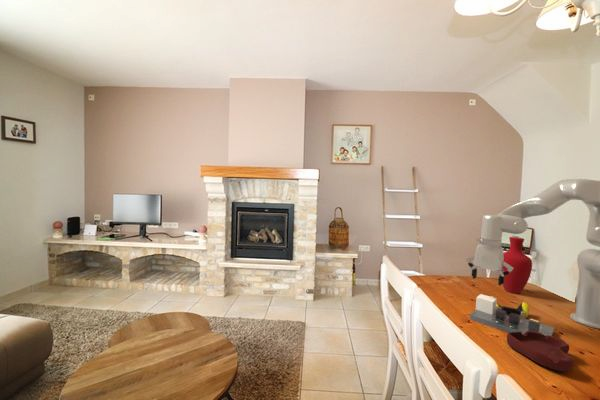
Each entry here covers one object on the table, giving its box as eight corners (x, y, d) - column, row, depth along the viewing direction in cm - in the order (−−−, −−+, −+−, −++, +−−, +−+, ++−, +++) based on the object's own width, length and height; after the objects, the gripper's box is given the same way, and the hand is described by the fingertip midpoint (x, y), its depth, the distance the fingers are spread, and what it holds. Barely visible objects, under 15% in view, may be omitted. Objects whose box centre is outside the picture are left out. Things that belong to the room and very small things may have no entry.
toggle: (539, 329, 105) (540, 320, 105) (538, 332, 103) (539, 323, 103) (529, 326, 107) (530, 317, 107) (528, 328, 105) (528, 320, 105)
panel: (553, 332, 108) (554, 318, 107) (548, 346, 98) (550, 331, 97) (480, 309, 126) (481, 297, 126) (469, 319, 116) (470, 306, 116)
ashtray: (507, 335, 104) (508, 323, 104) (567, 354, 94) (568, 339, 94) (504, 357, 91) (505, 342, 90) (573, 381, 80) (575, 364, 80)
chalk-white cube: (495, 310, 121) (496, 298, 121) (492, 314, 117) (493, 302, 116) (479, 305, 125) (480, 294, 125) (475, 309, 121) (476, 297, 121)
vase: (490, 288, 155) (494, 235, 153) (505, 285, 161) (509, 234, 159) (520, 298, 141) (524, 241, 140) (535, 294, 147) (540, 239, 146)
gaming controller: (487, 305, 131) (489, 314, 122) (488, 294, 131) (490, 302, 122) (527, 314, 124) (532, 323, 115) (528, 302, 123) (533, 310, 115)
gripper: (465, 240, 123) (462, 277, 124) (513, 248, 111) (509, 289, 112) (471, 238, 128) (467, 274, 129) (517, 246, 116) (513, 285, 117)
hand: (486, 281), depth 120 cm, fingers open, 9 cm apart
